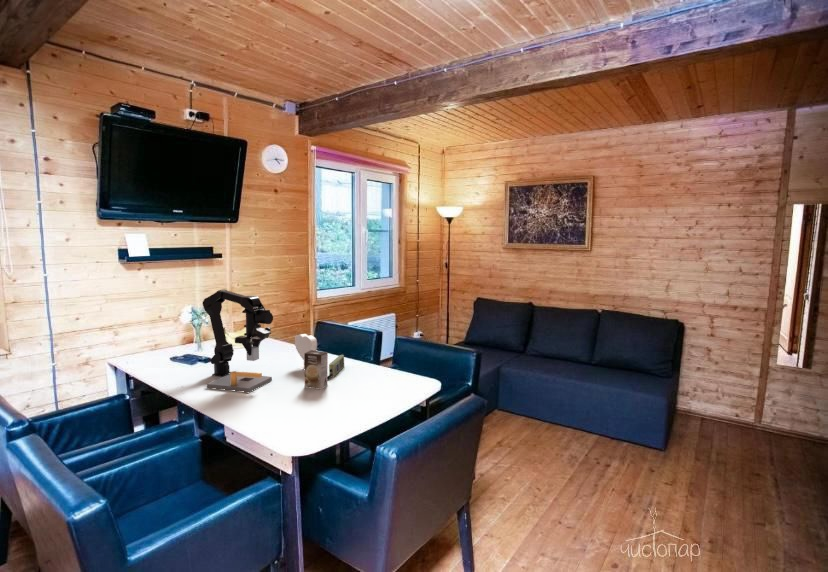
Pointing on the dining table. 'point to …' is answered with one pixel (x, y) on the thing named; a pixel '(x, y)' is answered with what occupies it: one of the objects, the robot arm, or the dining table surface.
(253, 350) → the plug
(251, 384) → the socket board
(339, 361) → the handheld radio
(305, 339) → the heart sculpture
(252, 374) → the long orange beam
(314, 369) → the coffee box
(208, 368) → the dining table surface
